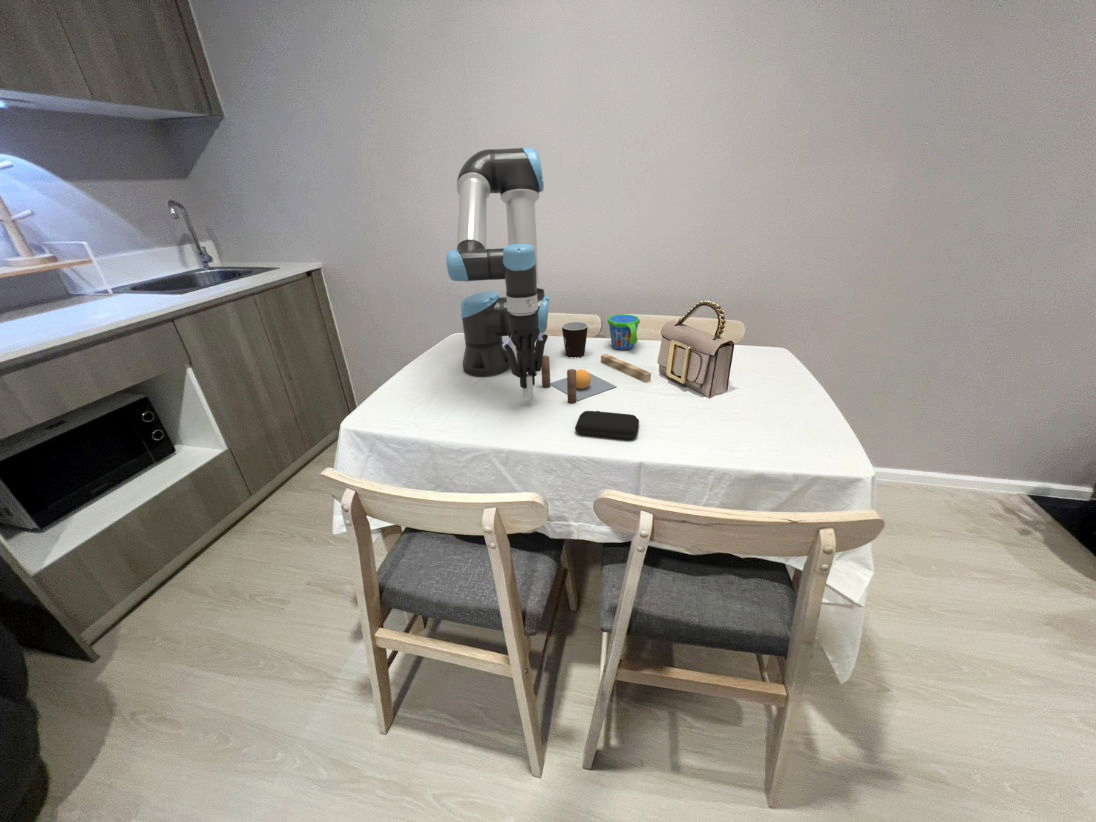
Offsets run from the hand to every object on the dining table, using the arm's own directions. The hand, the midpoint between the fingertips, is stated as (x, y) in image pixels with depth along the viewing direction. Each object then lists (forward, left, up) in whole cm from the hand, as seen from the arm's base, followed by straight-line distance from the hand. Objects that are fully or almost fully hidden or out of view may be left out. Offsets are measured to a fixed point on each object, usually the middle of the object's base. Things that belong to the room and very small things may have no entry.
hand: (528, 397), depth 124 cm
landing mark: (0, +18, -2) cm, 19 cm away
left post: (-6, +10, -2) cm, 12 cm away
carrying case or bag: (+23, +8, -3) cm, 24 cm away
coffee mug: (-22, +33, -2) cm, 40 cm away
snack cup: (-16, +49, -2) cm, 52 cm away
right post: (+6, +10, -2) cm, 12 cm away
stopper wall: (0, +35, -2) cm, 35 cm away
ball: (+1, +17, +1) cm, 17 cm away
